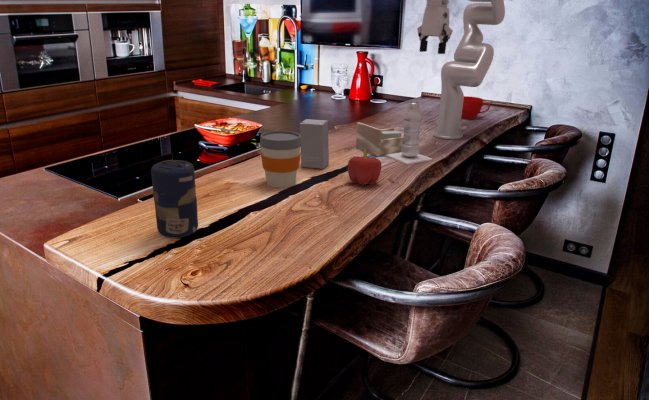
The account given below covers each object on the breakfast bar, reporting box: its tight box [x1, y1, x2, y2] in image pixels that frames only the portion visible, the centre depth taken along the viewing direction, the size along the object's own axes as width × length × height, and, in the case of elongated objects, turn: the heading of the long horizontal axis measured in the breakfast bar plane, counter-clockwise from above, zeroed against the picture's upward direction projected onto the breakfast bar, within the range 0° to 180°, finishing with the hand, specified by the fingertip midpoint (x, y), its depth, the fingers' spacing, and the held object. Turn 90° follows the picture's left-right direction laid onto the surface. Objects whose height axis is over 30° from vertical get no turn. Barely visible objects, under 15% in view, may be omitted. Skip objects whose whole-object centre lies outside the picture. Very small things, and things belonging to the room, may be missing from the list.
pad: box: [385, 152, 433, 166], centre depth 182 cm, size 12×12×1 cm
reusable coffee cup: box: [259, 130, 302, 189], centre depth 150 cm, size 13×13×15 cm
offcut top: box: [381, 130, 402, 140], centre depth 192 cm, size 4×8×2 cm, turn 106°
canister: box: [150, 159, 199, 239], centre depth 115 cm, size 10×10×18 cm
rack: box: [355, 121, 403, 158], centre depth 191 cm, size 19×14×10 cm
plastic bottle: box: [401, 100, 423, 157], centre depth 178 cm, size 6×7×20 cm
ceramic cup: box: [461, 95, 491, 120], centre depth 250 cm, size 13×17×10 cm
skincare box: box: [299, 118, 330, 170], centre depth 167 cm, size 8×7×16 cm
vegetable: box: [347, 149, 382, 185], centre depth 153 cm, size 11×10×10 cm
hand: (432, 52), depth 184 cm, fingers open, 9 cm apart
